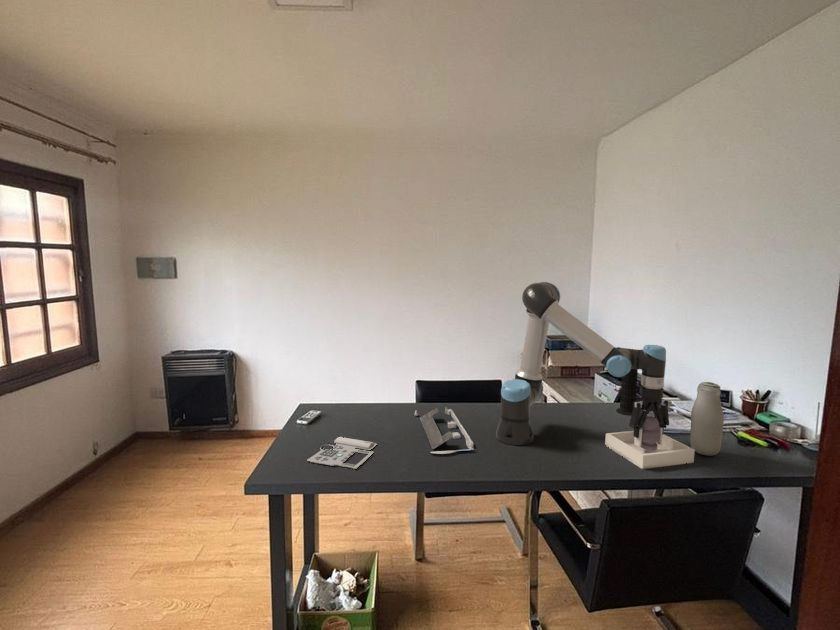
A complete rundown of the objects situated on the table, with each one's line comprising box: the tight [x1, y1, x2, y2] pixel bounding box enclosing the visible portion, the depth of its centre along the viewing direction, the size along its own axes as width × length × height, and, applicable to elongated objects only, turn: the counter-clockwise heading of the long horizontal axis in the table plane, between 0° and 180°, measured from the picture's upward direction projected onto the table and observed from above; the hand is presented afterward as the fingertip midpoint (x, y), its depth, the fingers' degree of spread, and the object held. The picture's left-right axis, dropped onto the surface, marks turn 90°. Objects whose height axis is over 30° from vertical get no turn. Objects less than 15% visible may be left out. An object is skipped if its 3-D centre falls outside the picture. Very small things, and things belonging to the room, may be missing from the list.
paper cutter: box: [414, 406, 475, 455], centre depth 179 cm, size 18×45×6 cm, turn 9°
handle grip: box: [615, 369, 639, 417], centre depth 203 cm, size 10×26×10 cm
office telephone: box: [306, 436, 378, 470], centre depth 159 cm, size 23×3×20 cm
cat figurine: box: [641, 415, 661, 450], centre depth 158 cm, size 8×8×12 cm
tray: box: [604, 430, 696, 470], centre depth 159 cm, size 22×20×5 cm
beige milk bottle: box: [689, 381, 725, 457], centre depth 158 cm, size 10×10×28 cm
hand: (647, 444), depth 159 cm, fingers closed on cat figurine, 8 cm apart
